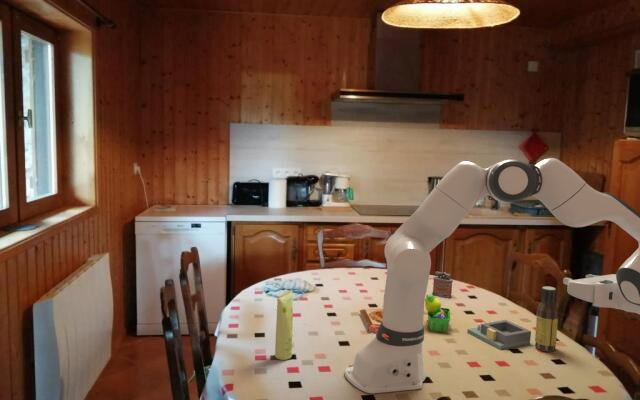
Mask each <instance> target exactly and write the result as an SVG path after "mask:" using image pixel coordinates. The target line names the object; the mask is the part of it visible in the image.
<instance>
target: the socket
mask: <svg viewBox="0 0 640 400" xmlns="http://www.w3.org/2000/svg"><path fill="white" fill-rule="evenodd" d="M489 322H490V323H487V322H484V324H482V323H480V324H481V326H480V327H481V332H480V333H482V334H484V335H486V338H488V339H490V340H492V341H495V340H496V341H498V342H500V343H502V344H504V345H508V344H513V343H518V342H523V341H528V340H530V341H531V338H532V337H531V335H532V330H529V329H527V328H525V327H522V326H520V325H519V324H516V323H514V322H511V321H509V320H507V319H502V320H497V321H494V322H491V321H489ZM504 330H505V331H508V332H510V333H504V332H502V331H504Z"/></svg>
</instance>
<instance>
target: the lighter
mask: <svg viewBox="0 0 640 400" xmlns="http://www.w3.org/2000/svg"><path fill="white" fill-rule="evenodd" d="M434 274H435V275H436V276H433V284H432V285H433V287H432V293H431V295H433V296H434V297H439V298H443V299H452V292H453V291H452V290H453V282H454V280H453V279H452V278H451V274H450V273H447V272H445V271H444V272H441V271H435V273H434Z"/></svg>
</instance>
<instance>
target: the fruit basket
mask: <svg viewBox="0 0 640 400" xmlns="http://www.w3.org/2000/svg"><path fill="white" fill-rule="evenodd" d="M424 308H425V310H426V311H427V319H428V323H429V329H430V331H435V332H444V333H446V332H447V329H448V325H449V323H450V321H451V319H452V318H451V309H450V308H447V307H442V303H441V301H440V300H439V299H438V298H436V296H434V295H432V294H426V295H425V302H424Z"/></svg>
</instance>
